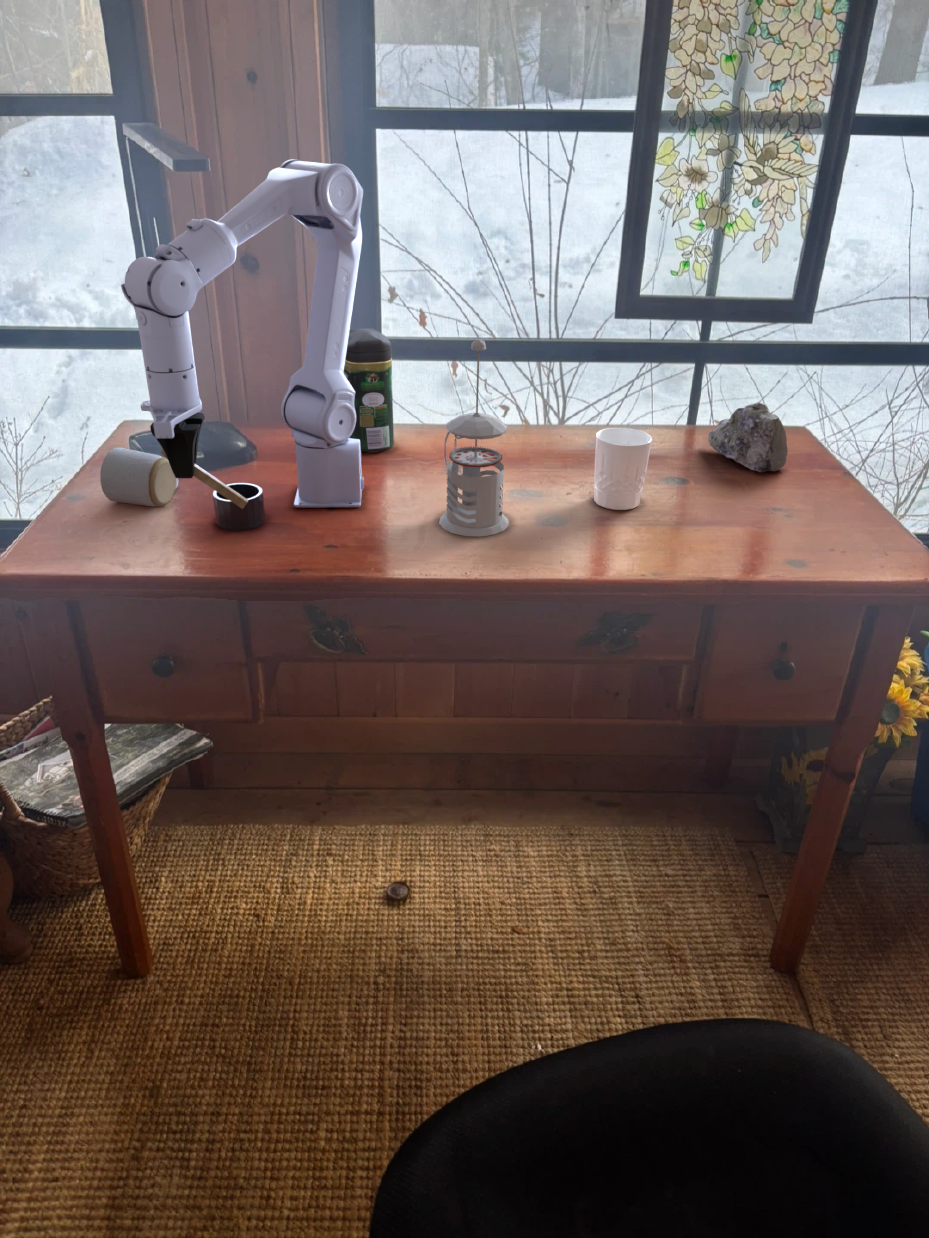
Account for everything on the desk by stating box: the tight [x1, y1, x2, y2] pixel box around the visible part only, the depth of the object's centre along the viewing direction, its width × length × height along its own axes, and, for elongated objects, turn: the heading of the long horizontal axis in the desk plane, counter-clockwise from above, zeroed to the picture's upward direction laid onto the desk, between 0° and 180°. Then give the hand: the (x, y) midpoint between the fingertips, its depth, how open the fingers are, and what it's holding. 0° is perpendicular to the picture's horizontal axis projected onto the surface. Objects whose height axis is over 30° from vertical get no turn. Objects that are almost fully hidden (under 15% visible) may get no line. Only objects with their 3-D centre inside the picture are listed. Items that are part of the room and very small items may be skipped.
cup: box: [212, 482, 266, 532], centre depth 125 cm, size 7×7×4 cm
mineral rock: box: [707, 401, 789, 473], centre depth 148 cm, size 13×11×10 cm
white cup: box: [593, 426, 653, 511], centre depth 132 cm, size 8×8×10 cm
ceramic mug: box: [99, 446, 179, 507], centre depth 130 cm, size 11×8×8 cm
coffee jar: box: [343, 328, 395, 453], centre depth 149 cm, size 10×8×19 cm
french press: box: [438, 338, 510, 538], centre depth 122 cm, size 10×12×25 cm
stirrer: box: [159, 448, 248, 509], centre depth 115 cm, size 10×1×8 cm, turn 93°
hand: (185, 475), depth 115 cm, fingers closed on stirrer, 1 cm apart
